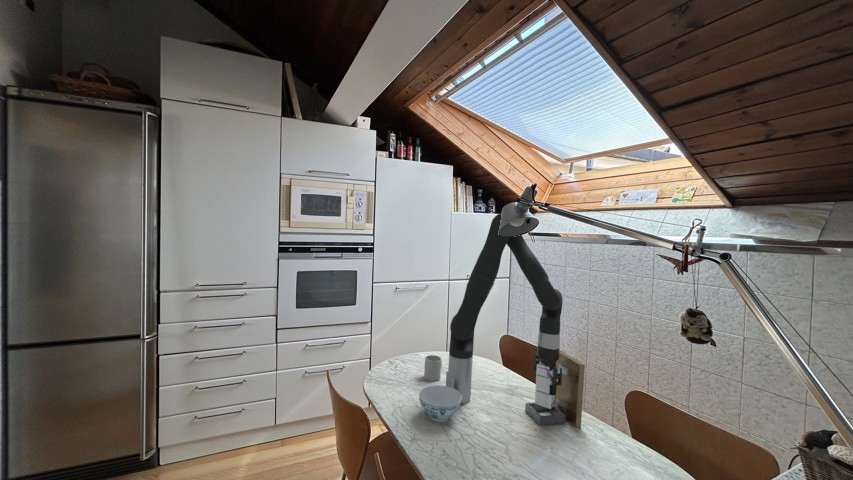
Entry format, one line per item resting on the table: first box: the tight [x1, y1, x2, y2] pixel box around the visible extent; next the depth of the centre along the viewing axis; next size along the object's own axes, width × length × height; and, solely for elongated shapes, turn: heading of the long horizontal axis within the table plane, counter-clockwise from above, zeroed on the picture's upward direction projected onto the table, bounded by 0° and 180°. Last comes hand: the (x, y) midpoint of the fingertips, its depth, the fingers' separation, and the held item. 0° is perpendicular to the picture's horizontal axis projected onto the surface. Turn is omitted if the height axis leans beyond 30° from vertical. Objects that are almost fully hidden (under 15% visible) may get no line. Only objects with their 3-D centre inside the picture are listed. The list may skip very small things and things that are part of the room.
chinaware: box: [418, 385, 462, 423], centre depth 119 cm, size 15×15×8 cm
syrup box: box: [534, 363, 557, 409], centre depth 122 cm, size 6×6×14 cm
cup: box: [423, 354, 443, 382], centre depth 152 cm, size 7×10×9 cm
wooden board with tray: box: [524, 350, 586, 429], centre depth 123 cm, size 14×16×22 cm
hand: (545, 389), depth 122 cm, fingers closed on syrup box, 8 cm apart
